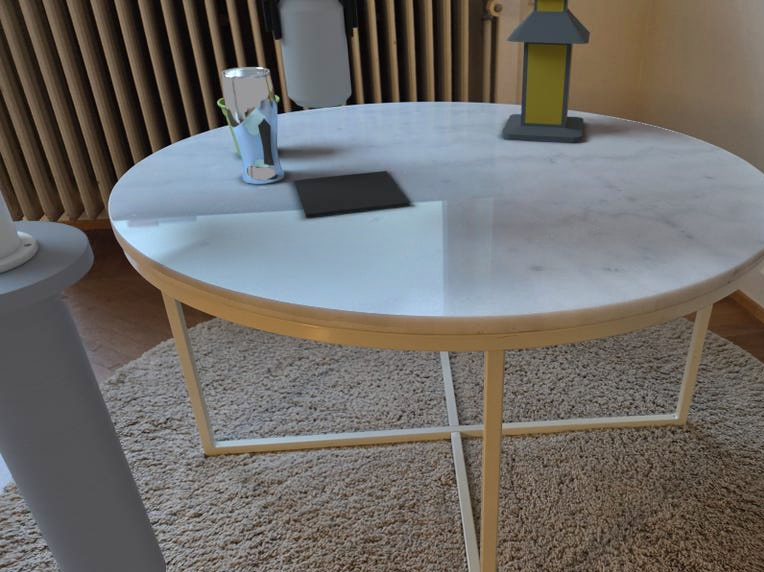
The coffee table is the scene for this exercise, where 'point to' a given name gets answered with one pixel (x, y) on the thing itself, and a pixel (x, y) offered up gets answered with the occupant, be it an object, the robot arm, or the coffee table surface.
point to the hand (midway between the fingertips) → (313, 35)
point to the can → (314, 52)
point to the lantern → (547, 74)
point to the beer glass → (253, 122)
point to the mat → (349, 193)
